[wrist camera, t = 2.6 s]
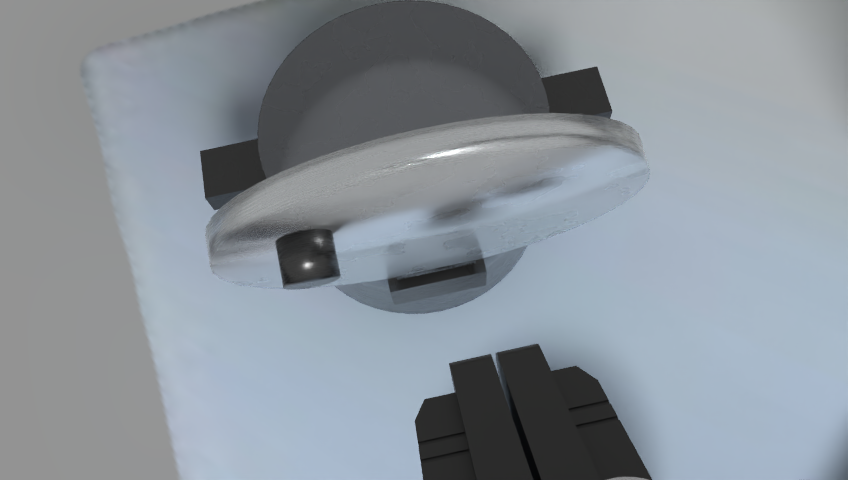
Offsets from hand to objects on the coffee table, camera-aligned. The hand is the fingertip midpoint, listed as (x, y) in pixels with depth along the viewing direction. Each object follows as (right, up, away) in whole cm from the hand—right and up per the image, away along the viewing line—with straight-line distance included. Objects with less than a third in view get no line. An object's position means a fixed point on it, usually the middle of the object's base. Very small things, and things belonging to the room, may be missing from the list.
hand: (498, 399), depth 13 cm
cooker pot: (-2, +5, +39) cm, 40 cm away
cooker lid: (-1, +4, +19) cm, 19 cm away
